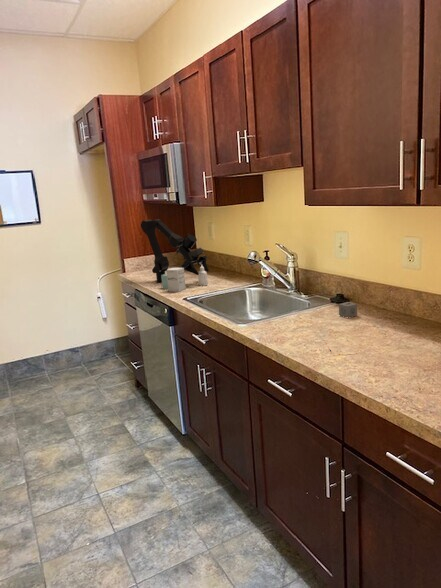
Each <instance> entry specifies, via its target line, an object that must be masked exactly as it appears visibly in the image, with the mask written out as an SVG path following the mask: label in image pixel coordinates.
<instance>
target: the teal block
mask: <svg viewBox="0 0 441 588" xmlns="http://www.w3.org/2000/svg"><path fill="white" fill-rule="evenodd" d="M161 278H162V282H161V287H162V289H163V290H168V280H167V273H165V274H164V275H161Z"/></svg>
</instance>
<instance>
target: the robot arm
mask: <svg viewBox="0 0 441 588" xmlns="http://www.w3.org/2000/svg"><path fill="white" fill-rule="evenodd" d="M140 228H141V230H142V232H143V233H144V234H145V235H146V236H147V238H148V242H149V244H150V247H151V250H152V252H153V256H154V259H153V260H154V261H153V262H154V263H153V264H154V266H153V268H152V270H151V271H152V273H153V274H156V275H155V277H156V280H155V281H154V282H156V283H157V284H162V278H161V275H164V274H166V272H167V269H169V266H170V261H169V258H168V256H164V255H163V252H162V250H161V246H160V243H159V240H158V237H157V235H156V229H157V230H158V231H159V232H160V233H162V235H163V236H165V238H167V240H168V243H169V244H170V246H171V247H172V248H174V249H175V248H176V255H178V254H181V256H182V257H183V260H184V261H183V263H182V264H181V266H180V268H184V272H185V271H186V272H189V273H192V274H193V275H197V276H198V275H199V273H198V272H199V271H198V270H197V269H196V268H195V264H196V265H198V266H199V268H200V267H201V265H202V266H203V267H204V271H206V272H207V273H209V267H208V265H207V261H208V259H209V258H208V256H207V255H202V254H204V249H203V248H201V247H199V248H197V249H194V250H191V249H192V248H193V247H194V245H195V244H196V243H197V241H198V239H197V237H196V236H195V235H193V234H190V233H186V235H185V237H184V238H183V237H182V236H181V235H179V234H177V233H175V232H173V231H172V230H171V228H169V227H168V226H167V225H166V224H165V223H164V222H163V221H162V220H161V219H154V220H152V219H147V220H146V219H145V220H142V221H141V223H140Z"/></svg>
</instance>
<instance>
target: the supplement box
mask: <svg viewBox="0 0 441 588" xmlns="http://www.w3.org/2000/svg"><path fill="white" fill-rule="evenodd" d="M166 274H167V280H168V289H167V290H168V292H174V293H175V292H176V293H177V292H178V293H180V292H182V291H186V289H187V287H186V277H185V276H186V275H185V270H184V268H181V267H170V268H168V269H167V271H166Z"/></svg>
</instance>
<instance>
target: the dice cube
mask: <svg viewBox="0 0 441 588" xmlns="http://www.w3.org/2000/svg"><path fill="white" fill-rule="evenodd" d="M339 315H340V316H339ZM356 315H357V316H358V303H354V302H350V301H346V302H342V303H338V316H339V317H342V316H344V317H343V318H345V317H348V318H347V319H350V318H349V317H351V318H353V317H352V316H354V317H357V316H356Z"/></svg>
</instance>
